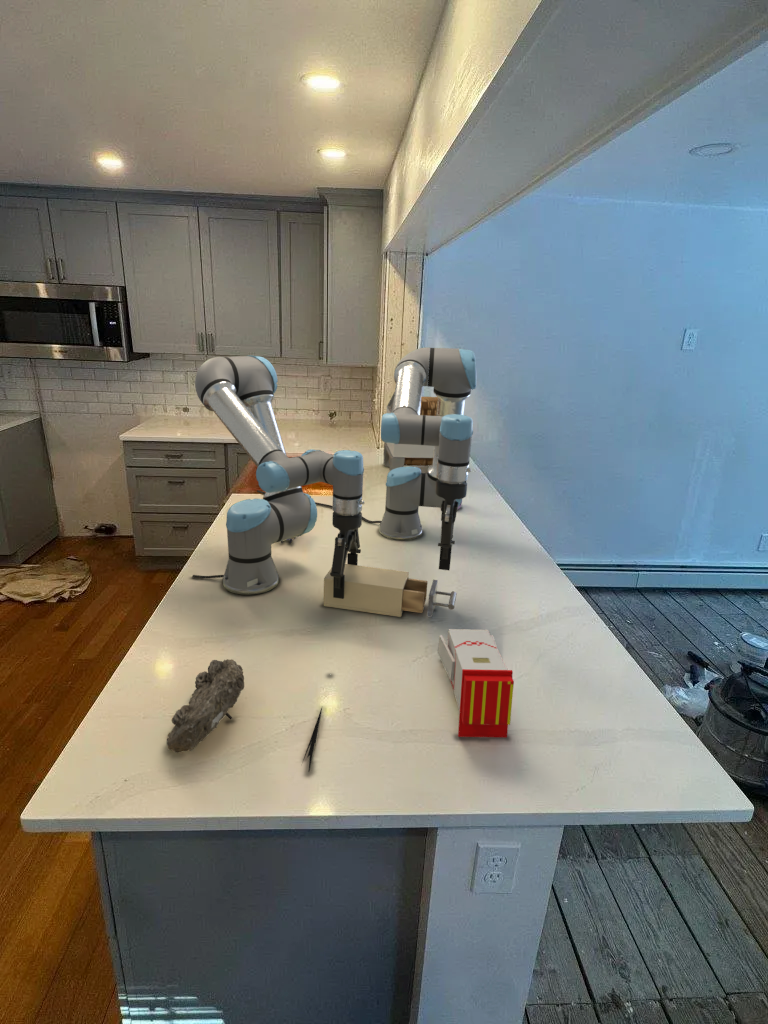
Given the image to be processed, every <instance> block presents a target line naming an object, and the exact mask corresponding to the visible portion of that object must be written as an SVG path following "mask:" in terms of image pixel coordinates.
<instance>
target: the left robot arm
mask: <svg viewBox="0 0 768 1024" xmlns="http://www.w3.org/2000/svg"><path fill="white" fill-rule="evenodd" d="M277 383H278V376H277V371H276V369H275V368H274V365H273V364H272V363H271V361H269V360H268V359H267V358H265V357H263V356H259V355H250V354H249V355H241V356H237V355H236V356H216V357H215V356H214V357H211V358H209V359H207V360H206V361H204V362H203V363H202V364H201V365H200V366H199V368H198V369H197V372H196V375H195V380H194V388H195V392H196V395H197V398H198V399H199V401H200V402H201V404H202V405H203V406H204V408H205V409H206V410H208V411H210V412H213V413H215V414H214V415H216V417H217V418H218V420H220V422H221V423H222V424H223V425H224V427H225V428H226V429H227V430H228V432H229V433H230V435H231V436H232V437H233V439H235V441H236V442H237V443H238V445H239V446H240V447H241V448H242V450H244V452H245V453H246V455H247V457H249V458H250V460H251V461H252V462H253V464H254V465H255V466H256V471H255V477H256V478H255V479H256V481H257V482H258V487H259V488H260V489H261V490H262V492H265V494H263V497H262V498H252V499H251V498H248V499H243V500H240V501H237V502H235V503H234V504H232V505H231V506H230V507H229V508H228V509H227V511H226V522H225V526H226V534H227V535H226V536H227V552H228V560H227V563H226V566H225V570H224V573H223V574H217V575H216V574H215V575H214V574H213V575H198V574H192V576H191V577H192V578H193V579H195V578H196V579H205V580H206V579H207V580H208V579H217V578H218V579H219V578H220V579H221V578H222V584H223V588H224V589H225V590H226V591H228V592H230V593H233V594H236V595H242V596H252V595H260V594H264V593H267V592H269V591H271V590H273V589H275V588H276V587H277V586H278V584H279V578H280V577H279V572H278V570H277V567H276V565H275V564H276V563H275V562H274V559H273V557H272V556H273V555H272V546H273V545H274V544H277V543H281V541H283V542H284V541H288V540H287V539H289V540H290V538H294V537H295V538H298V537H301V536H303V535H305V534H308V533H310V532H311V531H312V530H313V529H314V528H315V526H316V523H317V520H318V508H317V505H316V504H315V502H316V501H315V500H314V498H313V497H312V495H310V494H309V493H305V492H304V490H303V487H304V486H308V485H312V484H316V483H317V484H318V483H325V484H327V485H330V486H332V506H333V508H332V511H333V512H332V526H333V527H334V528H335V529H337V530H338V531H339V532H338V533H337V536H335V537H334V549H333V557H332V564H331V567H332V570H331V572H330V575H331V576H332V577H334V580H333V598H340V599H344V582H345V575H344V569H345V564H350V565H358V557H359V554H361V552H362V549H360V548H361V542H360V536H359V528H361V527H362V524H363V523H362V522H363V519H362V517H363V513H362V510H363V505H364V504H365V500H363V489H364V473H365V468H364V455H363V454H362V453H361V452H359V451H357V450H349V449H341V450H337V451H335V452H334V453H333V454H331V453H328V452H325V451H323V450H320V449H306V451H304V452H303V453H302V454H301V455H297V456H293V457H292V456H291V457H288V456H287V452H286V449H285V445H284V442H283V438H282V436H281V432H280V429H279V426H278V425H279V424H278V422H277V419H276V415H275V412H274V408H273V406H272V403H273V402H274V400H275V393H276V392H277V389H278V384H277ZM295 538H294V539H295Z"/></svg>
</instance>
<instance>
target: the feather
mask: <svg viewBox="0 0 768 1024" xmlns="http://www.w3.org/2000/svg"><path fill="white" fill-rule="evenodd" d="M329 675H330V676H331V675H332V674H331V673H330V674H329ZM322 710H323V707H321V708H320V710H319V713H318V716H317V719H316V723H315V725H314V728H313V731H312V733H311V737H310V739H309V742H308V745H307V748H306V751H305V754H304V757H303V760H302V763H301V767H302V765H303V763H304V761H305V758H308V759H309V760H308V762H307V763H308V764H307V766H308V771H310V770H311V766H312V765H311V764H312V760H313V757H315V756H314V755H315V751H316V749H315V746H317V739H318V733H319V729H320V722H321V717H322V712H323V711H322ZM313 754H314V755H313ZM306 755H307V757H306Z"/></svg>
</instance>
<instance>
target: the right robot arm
mask: <svg viewBox="0 0 768 1024" xmlns="http://www.w3.org/2000/svg"><path fill="white" fill-rule="evenodd" d="M393 381H394V383H395V388H394V389H395V390H394V392H395V394H394V393H393V394H394V400H393V406H392V412H391V413H386V412H385V413H384V414H382V416H381V422H380V439H381V441H382V442H383V443H384V442H386V443H394V444H411V445H427V446H434V453H433V465H430V466H428V468H427V472H422V469H421V468H420V467H419V466H418V467H417V466H404V467H399V468H395V469H393V470H391V471H390V470H389V471H388V473H387V475H386V482H385V487H386V488H385V489H386V490H385V504H384V505H385V507H384V508H385V509H384V513H383V515H382V519H381V520H369V519H367V518H366V517H364V516H362V521H364V522H367V523H368V524H369V523H370V524H379V527H378V533H379V534H380V535H381V536H382V537H385V538H387V539H389V540H395V541H410V540H415V539H418V538H420V537H421V536H422V535H423V525H422V524H421V518H420V515H419V507H425V508H437V509H440V511H441V513H440V514H441V515H440V521H441V529H440V542H438V544H437V547H440V548H439V560H438V570H443V571H450V569H451V562H452V561H451V559H452V549H453V545H455V544H456V542H455V540H453V538H454V528H455V522H456V519H457V512H458V510H459V509H458V507H459V505H460V504H461V501H462V502H463V499H464V498H466V497H467V492H468V482H467V481H468V479H469V473H471V472H472V469H471V467H470V457H471V448H472V442H473V441H472V440H473V435H474V427H473V425H474V420H473V418H472V417H471V416H468V415H465V414H464V413H465V403H466V399H467V398H469V397H470V396H471V392H472V390H475V389H476V388H477V363H476V353H475V352H474V351H473V350H471V349H465V348H464V349H463V348H461V347H460V348H456V347H455V348H453V347H450V348H449V347H427V346H426V347H425V346H424V347H419V348H417V349H414V350H412V351H410V352H409V353H406V354H405V355H404V356H403V357H401V359H400V360H399V361H398V363H397V364H396V366H395V369H394V373H393ZM423 387H430V388H433V394H434V395H435V397H438V402H437V415H436V416H427V415H420V405H421V397H422V391H423ZM256 492H257V493H259V494H262V495H265V493H266V492H265V491H263V490H262V491H261V490H258V489H257V490H256ZM315 504H316V506H322V507H327V508H331V509H333V505H331V504H327V503H321V502H316V501H315ZM461 505H462V504H461ZM457 509H458V510H457Z"/></svg>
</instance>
